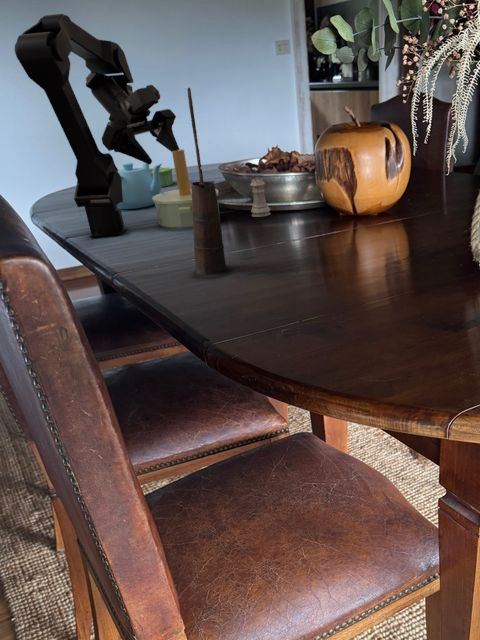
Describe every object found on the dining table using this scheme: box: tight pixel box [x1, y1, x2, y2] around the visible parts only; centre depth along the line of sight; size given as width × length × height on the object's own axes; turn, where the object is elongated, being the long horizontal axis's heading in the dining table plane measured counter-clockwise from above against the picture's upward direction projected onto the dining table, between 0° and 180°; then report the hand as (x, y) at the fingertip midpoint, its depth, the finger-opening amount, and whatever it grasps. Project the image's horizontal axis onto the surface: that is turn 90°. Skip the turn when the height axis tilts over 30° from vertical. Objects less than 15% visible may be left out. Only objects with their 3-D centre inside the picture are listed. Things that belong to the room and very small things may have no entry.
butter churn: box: [186, 87, 227, 276], centre depth 102 cm, size 9×10×28 cm
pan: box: [154, 196, 221, 228], centre depth 144 cm, size 14×19×6 cm
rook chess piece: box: [249, 178, 272, 218], centre depth 143 cm, size 4×4×8 cm
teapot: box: [117, 162, 163, 210], centre depth 165 cm, size 15×15×10 cm
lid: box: [152, 148, 220, 204], centre depth 140 cm, size 15×15×10 cm
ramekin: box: [149, 166, 174, 188], centre depth 191 cm, size 9×9×4 cm
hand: (165, 158), depth 142 cm, fingers open, 9 cm apart
